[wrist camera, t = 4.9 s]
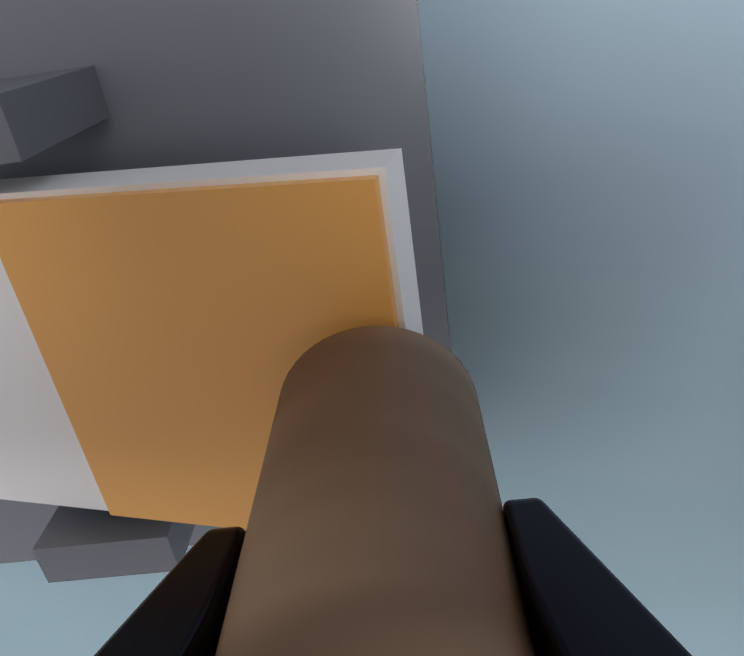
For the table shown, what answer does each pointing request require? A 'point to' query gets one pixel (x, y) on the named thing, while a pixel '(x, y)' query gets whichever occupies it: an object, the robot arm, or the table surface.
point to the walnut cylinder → (376, 513)
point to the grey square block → (203, 155)
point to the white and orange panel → (182, 320)
